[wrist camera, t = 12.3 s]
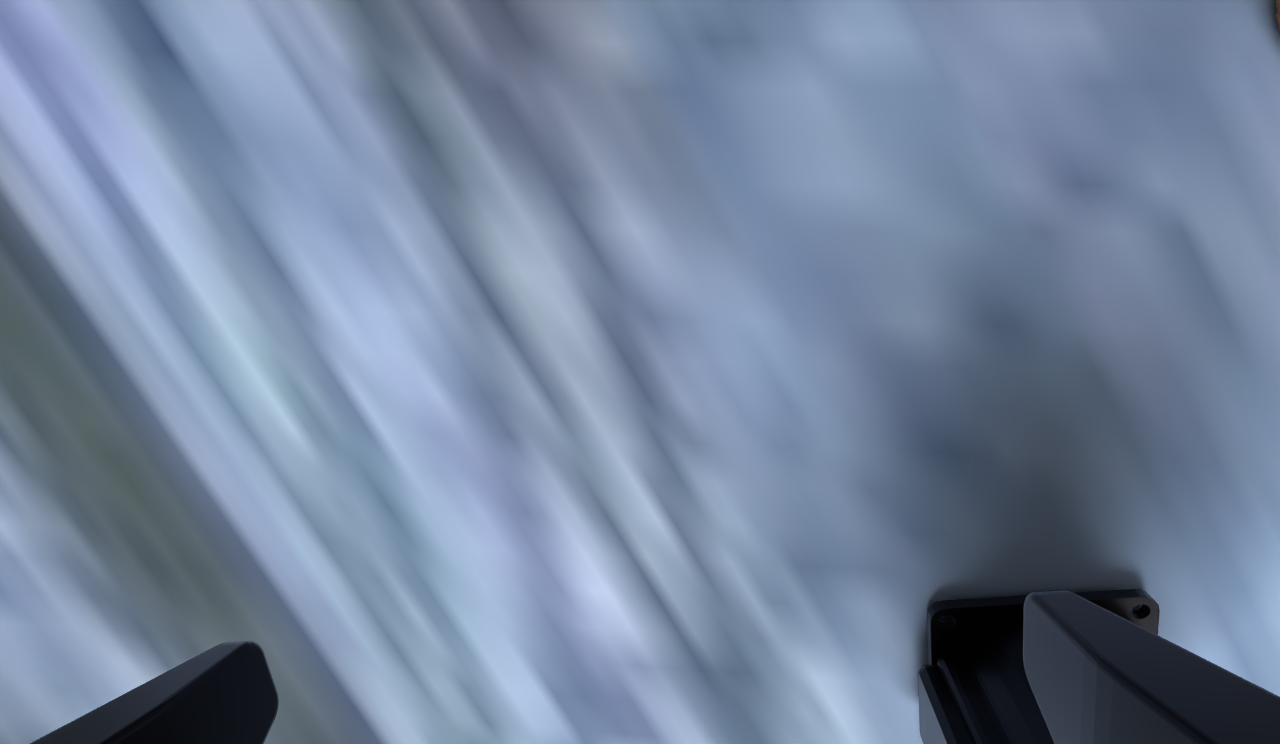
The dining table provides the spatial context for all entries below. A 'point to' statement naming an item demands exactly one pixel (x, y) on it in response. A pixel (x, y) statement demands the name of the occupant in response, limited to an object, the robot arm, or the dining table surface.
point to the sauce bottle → (1278, 13)
